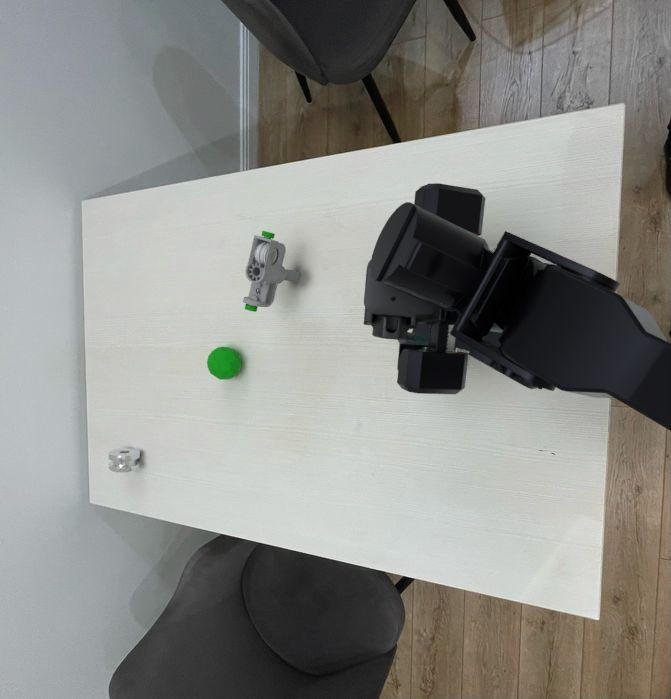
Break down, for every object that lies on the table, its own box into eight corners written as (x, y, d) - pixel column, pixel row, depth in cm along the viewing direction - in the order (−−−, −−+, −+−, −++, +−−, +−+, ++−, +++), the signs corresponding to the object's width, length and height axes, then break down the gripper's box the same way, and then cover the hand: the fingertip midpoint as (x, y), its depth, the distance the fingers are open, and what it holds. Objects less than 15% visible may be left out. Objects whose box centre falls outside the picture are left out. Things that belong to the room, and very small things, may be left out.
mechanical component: (279, 307, 79) (236, 306, 70) (296, 238, 77) (254, 228, 68) (295, 313, 78) (254, 313, 69) (313, 243, 76) (273, 233, 67)
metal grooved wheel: (146, 451, 93) (123, 457, 88) (146, 467, 93) (122, 475, 89) (125, 446, 95) (102, 452, 91) (125, 462, 95) (101, 470, 91)
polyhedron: (217, 368, 85) (196, 371, 80) (227, 340, 83) (206, 341, 79) (240, 383, 83) (220, 387, 78) (251, 354, 82) (231, 357, 77)
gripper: (404, 157, 39) (338, 190, 54) (381, 407, 41) (323, 373, 56) (532, 179, 43) (437, 205, 58) (505, 409, 45) (420, 377, 59)
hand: (402, 290), depth 58 cm, fingers open, 9 cm apart
